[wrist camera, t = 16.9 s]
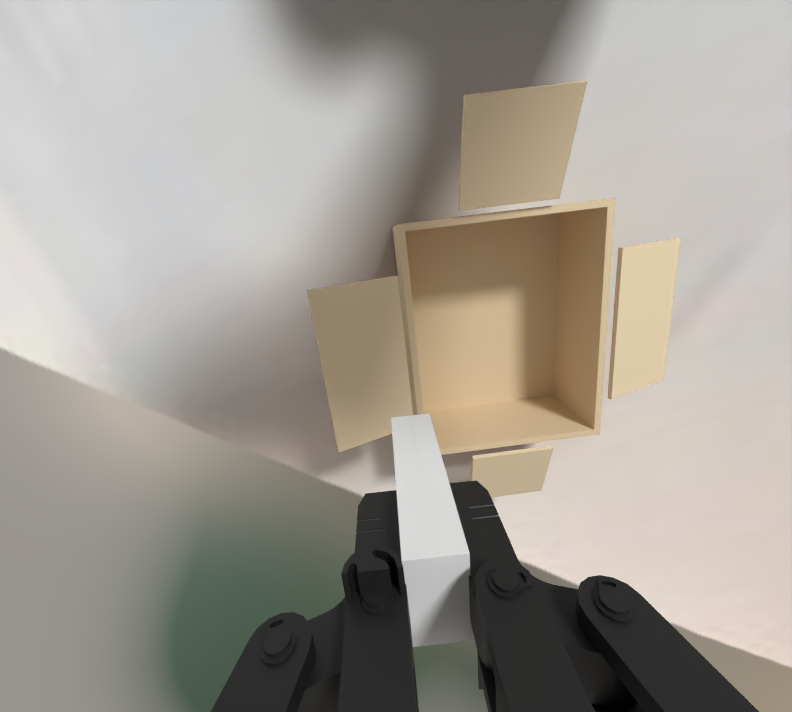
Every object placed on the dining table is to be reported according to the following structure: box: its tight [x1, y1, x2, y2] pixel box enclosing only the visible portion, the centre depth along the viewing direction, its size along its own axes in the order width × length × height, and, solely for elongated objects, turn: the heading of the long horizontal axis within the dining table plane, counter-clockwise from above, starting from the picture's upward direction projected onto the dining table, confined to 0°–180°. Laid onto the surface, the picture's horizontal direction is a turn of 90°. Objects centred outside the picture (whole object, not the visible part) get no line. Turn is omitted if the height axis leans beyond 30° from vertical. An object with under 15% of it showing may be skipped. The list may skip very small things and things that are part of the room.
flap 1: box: [307, 276, 413, 453], centre depth 31 cm, size 14×8×1 cm, turn 7°
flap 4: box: [608, 238, 681, 399], centre depth 34 cm, size 14×8×1 cm, turn 7°
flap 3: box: [471, 445, 553, 497], centre depth 39 cm, size 8×8×1 cm
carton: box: [392, 198, 615, 455], centre depth 37 cm, size 22×18×9 cm
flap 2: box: [459, 81, 587, 210], centre depth 26 cm, size 8×8×1 cm
